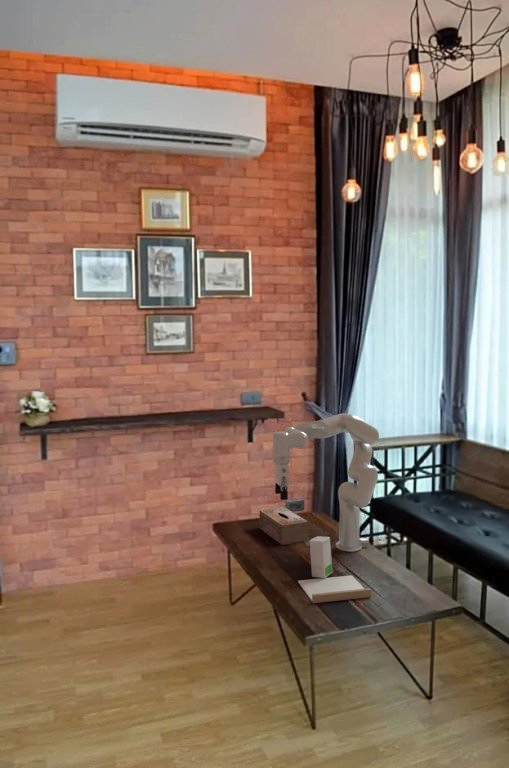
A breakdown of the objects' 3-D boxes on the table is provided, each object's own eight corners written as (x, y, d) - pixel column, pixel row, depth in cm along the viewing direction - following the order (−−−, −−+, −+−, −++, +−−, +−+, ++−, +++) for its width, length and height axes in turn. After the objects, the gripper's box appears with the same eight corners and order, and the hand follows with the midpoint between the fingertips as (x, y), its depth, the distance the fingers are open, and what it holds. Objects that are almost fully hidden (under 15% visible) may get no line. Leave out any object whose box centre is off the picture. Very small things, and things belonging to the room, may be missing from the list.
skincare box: (324, 579, 251) (322, 542, 250) (310, 577, 254) (308, 540, 254) (333, 572, 258) (330, 536, 257) (319, 570, 261) (316, 535, 261)
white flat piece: (351, 576, 255) (351, 569, 255) (371, 596, 236) (371, 589, 236) (297, 582, 249) (297, 575, 249) (313, 603, 231) (313, 595, 230)
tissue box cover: (308, 541, 297) (308, 521, 296) (282, 545, 291) (282, 525, 290) (283, 525, 321) (284, 506, 320) (259, 528, 315) (259, 510, 314)
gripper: (294, 463, 260) (294, 501, 262) (284, 454, 277) (284, 490, 279) (277, 464, 259) (277, 502, 261) (268, 455, 276) (268, 491, 278)
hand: (281, 496), depth 270 cm, fingers open, 9 cm apart
